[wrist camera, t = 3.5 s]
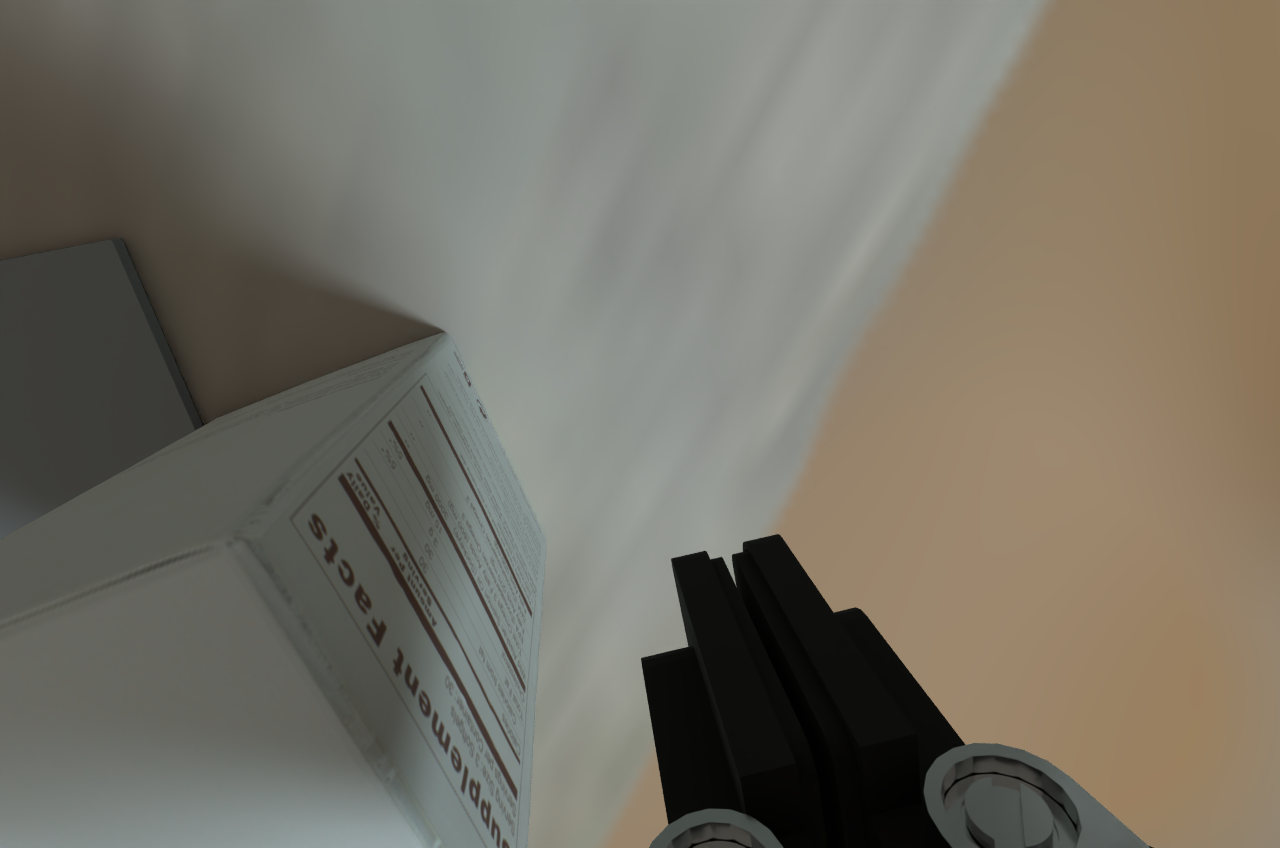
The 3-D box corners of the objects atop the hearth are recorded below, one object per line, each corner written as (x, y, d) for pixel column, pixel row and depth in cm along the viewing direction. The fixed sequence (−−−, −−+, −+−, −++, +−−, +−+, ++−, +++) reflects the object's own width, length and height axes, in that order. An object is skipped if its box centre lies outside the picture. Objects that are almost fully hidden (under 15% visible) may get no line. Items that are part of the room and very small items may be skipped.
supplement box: (336, 622, 20) (-8, 1209, 8) (210, 413, 18) (-538, 804, 6) (554, 542, 20) (532, 1012, 8) (457, 323, 18) (222, 525, 6)
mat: (122, 238, 16) (110, 238, 16) (352, 771, 22) (349, 781, 21) (-369, 334, 16) (-392, 336, 15) (-2, 854, 21) (-12, 866, 21)
